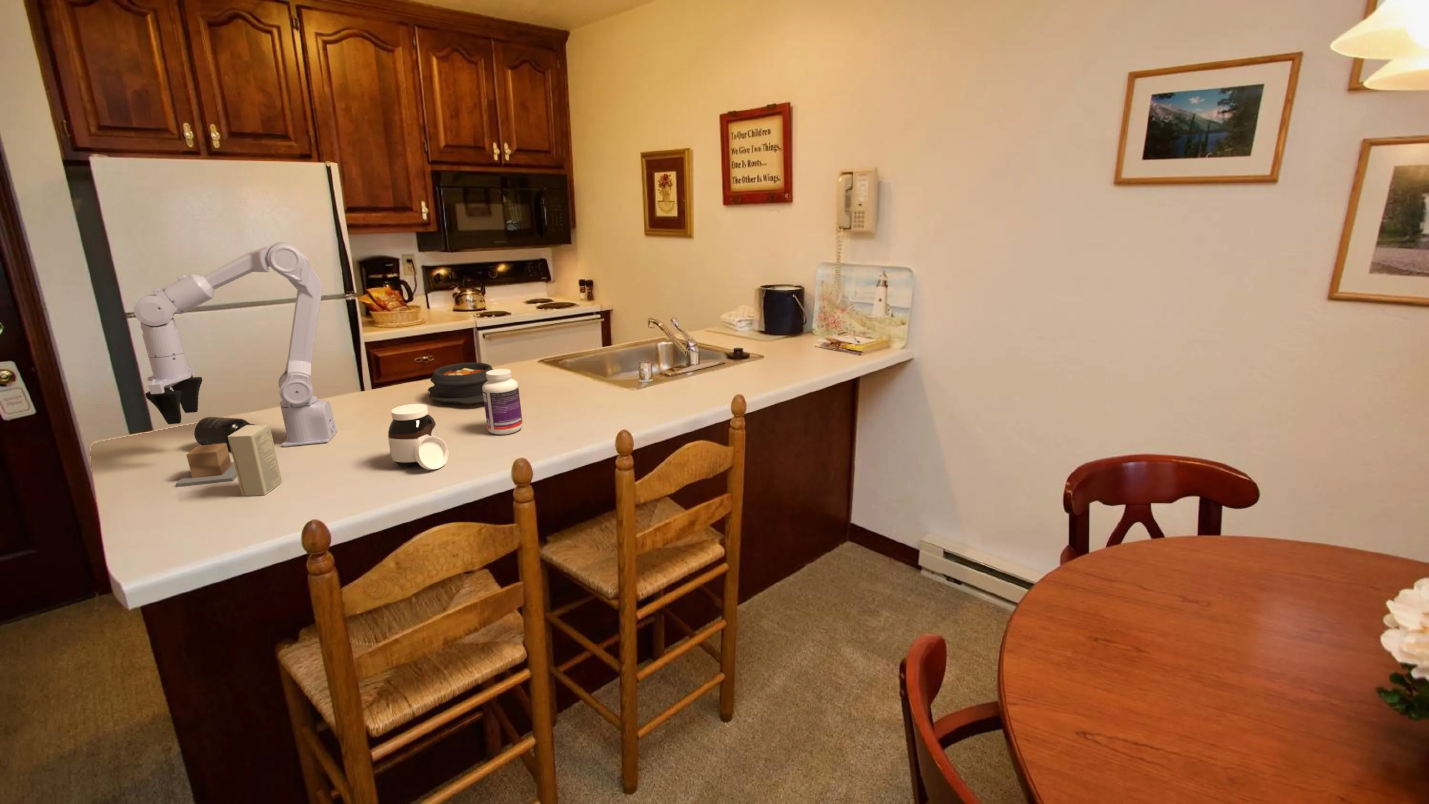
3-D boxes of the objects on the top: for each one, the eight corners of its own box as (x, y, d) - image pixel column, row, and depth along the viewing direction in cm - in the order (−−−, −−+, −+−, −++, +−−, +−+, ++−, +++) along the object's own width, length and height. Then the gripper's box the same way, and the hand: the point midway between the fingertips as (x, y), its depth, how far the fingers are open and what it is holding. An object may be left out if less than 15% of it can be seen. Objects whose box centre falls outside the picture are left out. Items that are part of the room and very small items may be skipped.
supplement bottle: (194, 450, 145) (240, 453, 142) (190, 419, 143) (236, 422, 141) (223, 443, 151) (267, 446, 149) (219, 414, 150) (264, 416, 148)
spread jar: (410, 452, 143) (402, 401, 140) (461, 452, 143) (455, 401, 140) (382, 474, 132) (372, 419, 128) (438, 474, 132) (430, 420, 128)
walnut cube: (231, 465, 136) (226, 443, 134) (221, 475, 131) (215, 451, 129) (203, 468, 134) (197, 445, 133) (192, 478, 130) (186, 454, 128)
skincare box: (260, 483, 129) (246, 424, 125) (283, 482, 129) (270, 423, 125) (240, 497, 123) (225, 435, 119) (265, 496, 123) (251, 434, 119)
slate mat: (250, 462, 138) (250, 460, 138) (232, 480, 130) (231, 478, 130) (198, 468, 136) (197, 465, 136) (176, 486, 127) (175, 483, 127)
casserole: (521, 398, 181) (518, 369, 179) (459, 415, 168) (454, 383, 165) (473, 383, 197) (469, 355, 194) (411, 397, 183) (407, 368, 180)
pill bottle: (530, 427, 158) (524, 369, 154) (507, 438, 151) (500, 377, 147) (504, 422, 161) (497, 366, 157) (480, 433, 154) (472, 374, 150)
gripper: (160, 348, 139) (177, 409, 143) (123, 364, 126) (142, 430, 130) (199, 346, 141) (214, 406, 145) (166, 361, 128) (184, 427, 132)
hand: (183, 417), depth 138 cm, fingers open, 7 cm apart
